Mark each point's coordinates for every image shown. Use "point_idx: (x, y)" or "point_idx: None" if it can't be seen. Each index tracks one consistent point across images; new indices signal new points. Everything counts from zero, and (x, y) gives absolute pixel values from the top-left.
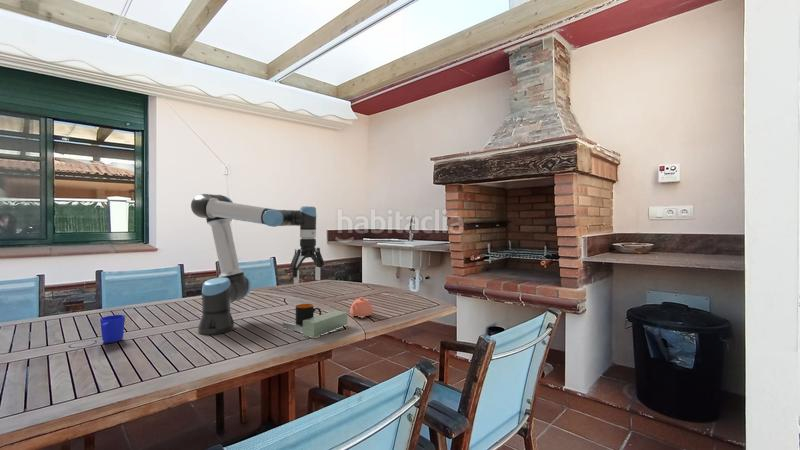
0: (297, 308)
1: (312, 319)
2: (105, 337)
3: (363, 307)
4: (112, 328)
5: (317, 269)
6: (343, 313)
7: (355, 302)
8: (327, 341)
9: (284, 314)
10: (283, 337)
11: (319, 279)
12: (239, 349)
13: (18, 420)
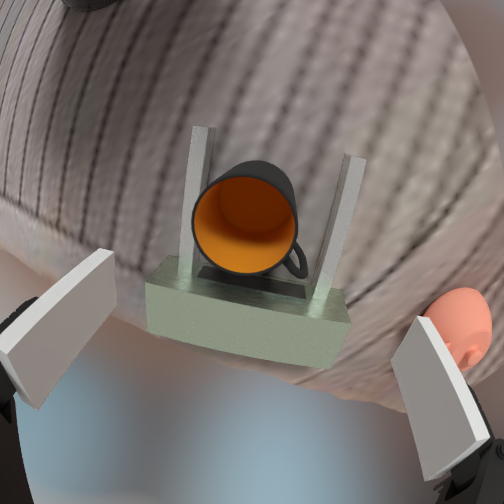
0: (192, 212)
1: (177, 307)
2: None
3: None
4: None
5: (440, 438)
6: (308, 366)
7: (453, 342)
8: None
9: (381, 8)
10: (129, 203)
11: (396, 367)
12: (30, 170)
13: None
